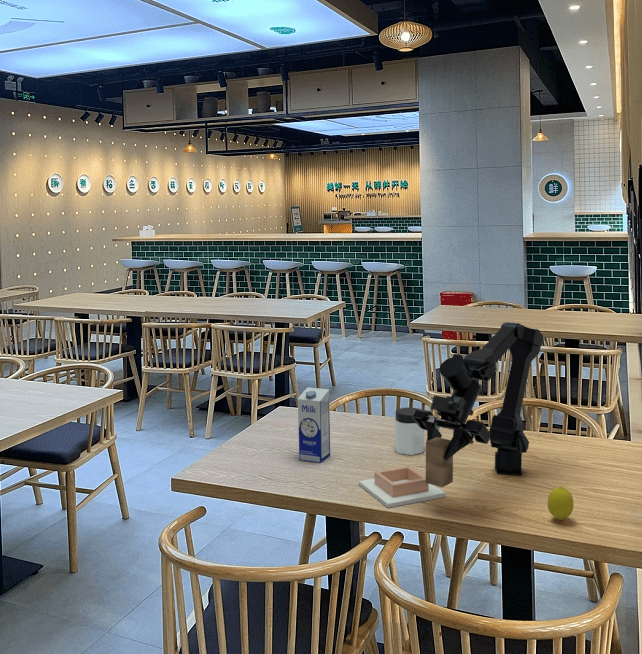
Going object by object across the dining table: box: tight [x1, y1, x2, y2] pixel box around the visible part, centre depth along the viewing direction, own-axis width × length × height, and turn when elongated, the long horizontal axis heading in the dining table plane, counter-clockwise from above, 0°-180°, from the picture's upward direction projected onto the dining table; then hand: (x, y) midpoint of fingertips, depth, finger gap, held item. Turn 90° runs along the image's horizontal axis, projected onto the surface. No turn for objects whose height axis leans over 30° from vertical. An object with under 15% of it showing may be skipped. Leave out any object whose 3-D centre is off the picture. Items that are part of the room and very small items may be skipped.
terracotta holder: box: [358, 466, 447, 509], centre depth 178 cm, size 16×16×4 cm
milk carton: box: [297, 387, 331, 464], centre depth 202 cm, size 7×7×20 cm
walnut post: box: [425, 437, 454, 488], centre depth 164 cm, size 4×4×10 cm
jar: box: [394, 407, 425, 456], centre depth 207 cm, size 9×8×12 cm
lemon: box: [547, 486, 574, 521], centre depth 159 cm, size 6×6×8 cm
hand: (436, 456), depth 163 cm, fingers closed on walnut post, 4 cm apart
